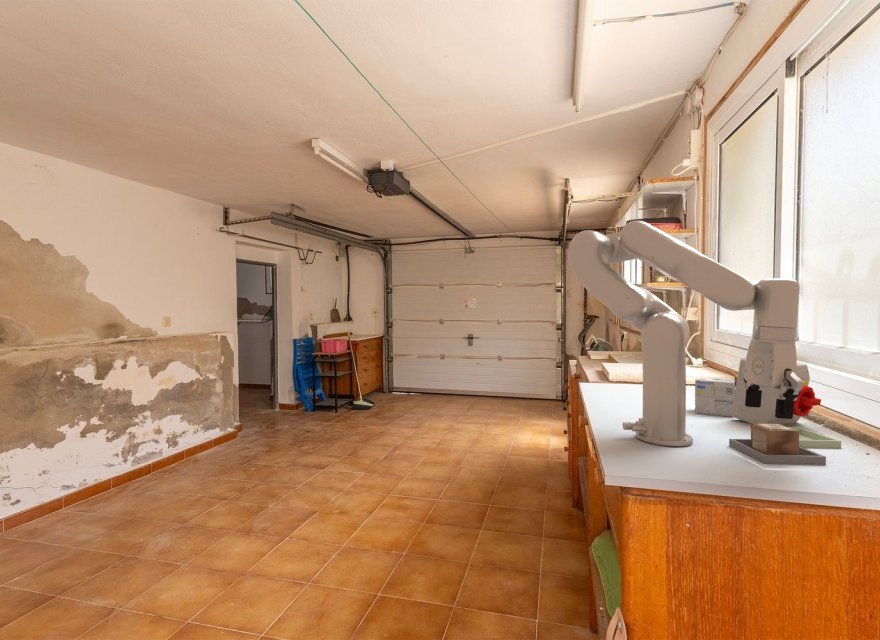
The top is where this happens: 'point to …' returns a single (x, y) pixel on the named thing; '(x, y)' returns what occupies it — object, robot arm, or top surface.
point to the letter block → (774, 439)
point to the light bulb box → (714, 396)
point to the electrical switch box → (772, 400)
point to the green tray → (815, 439)
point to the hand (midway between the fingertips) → (767, 412)
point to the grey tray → (802, 458)
